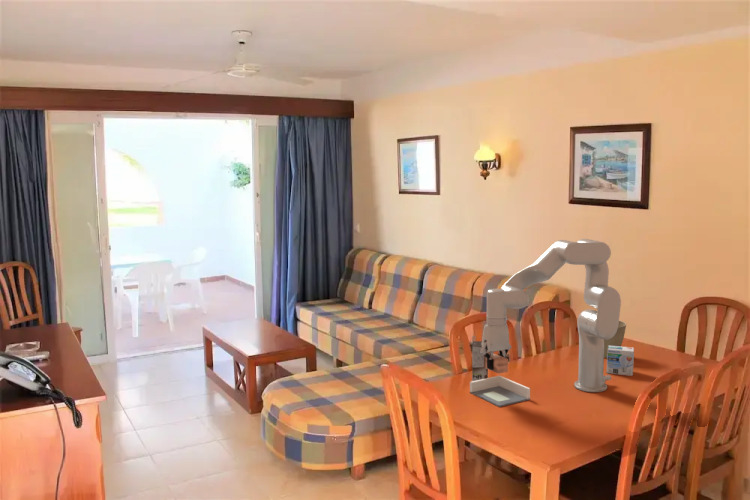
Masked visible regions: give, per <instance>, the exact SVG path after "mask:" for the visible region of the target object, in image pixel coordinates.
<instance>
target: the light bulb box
mask: <svg viewBox="0 0 750 500" xmlns="http://www.w3.org/2000/svg"><path fill="white" fill-rule="evenodd" d="M634 359H635V348H634V347H632V346H631V347H630V346H622V345H621V346H610V345H609V346H608V352H607V358H606V374H609V375H611V374H613V375H620V376H630V377H633V375H634V366H635V365H634V363H635V361H634Z"/></svg>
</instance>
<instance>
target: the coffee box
mask: <svg viewBox="0 0 750 500" xmlns="http://www.w3.org/2000/svg"><path fill="white" fill-rule="evenodd" d="M471 346H472V347H471V348H472V349H471V353H472V354H471V361H472V362H471V363H472V364H471V368H472V369H471V371H472V372H471V374H472V376H471V379H472V380H471V381H476V380H481V379H485V378H489V369H486V368H484V355H483V354H482V353H480V350H481V349H482V340H477V341H476V340H473V341H472V345H471ZM486 352H487V350H486Z"/></svg>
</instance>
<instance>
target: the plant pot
mask: <svg viewBox="0 0 750 500" xmlns="http://www.w3.org/2000/svg"><path fill="white" fill-rule="evenodd" d="M626 328H627V323H626V322H624V321H622V320H619V324H618V329H617V332H616V334H615V335H614V336H613V337H612V338H611V339H607V340H605V339H603V340H604V359H607V352H608V346H609V345H610V346H621V347H622V345H623V342H624V337H625V333H626Z"/></svg>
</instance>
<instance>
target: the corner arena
mask: <svg viewBox="0 0 750 500" xmlns="http://www.w3.org/2000/svg"><path fill="white" fill-rule="evenodd" d="M469 393H470V394H471V395H474V396H475V397H477V398H480V399H482V400H483V401H486V402H488V403H490V404H492V405H494V406H496V407H498V408H501V407H502V408H503V407H505V406H509V405H514V404H517V403H522V402H525V401H530V400H531V388H530V387H528V386H525V385H523V384H521V383H518V382H516V381H514V380H511V379H509V378H507V377H505V376H502V375H499V374H498V375H495V376H491V377H488V378H485V379H481V380H476V381H472V380H471V381H469Z"/></svg>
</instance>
